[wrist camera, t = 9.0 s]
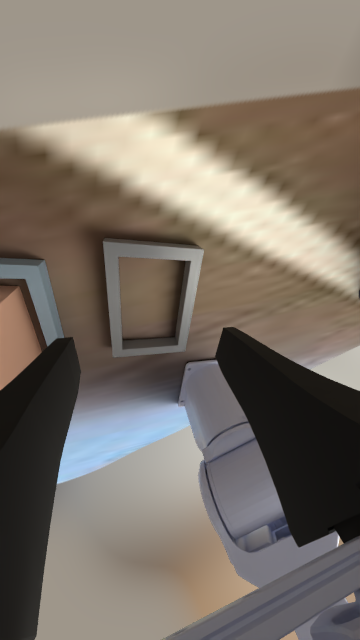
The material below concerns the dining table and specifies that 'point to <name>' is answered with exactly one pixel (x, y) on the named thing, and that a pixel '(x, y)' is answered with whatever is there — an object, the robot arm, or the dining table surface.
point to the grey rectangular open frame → (188, 293)
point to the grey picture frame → (36, 292)
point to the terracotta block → (15, 335)
